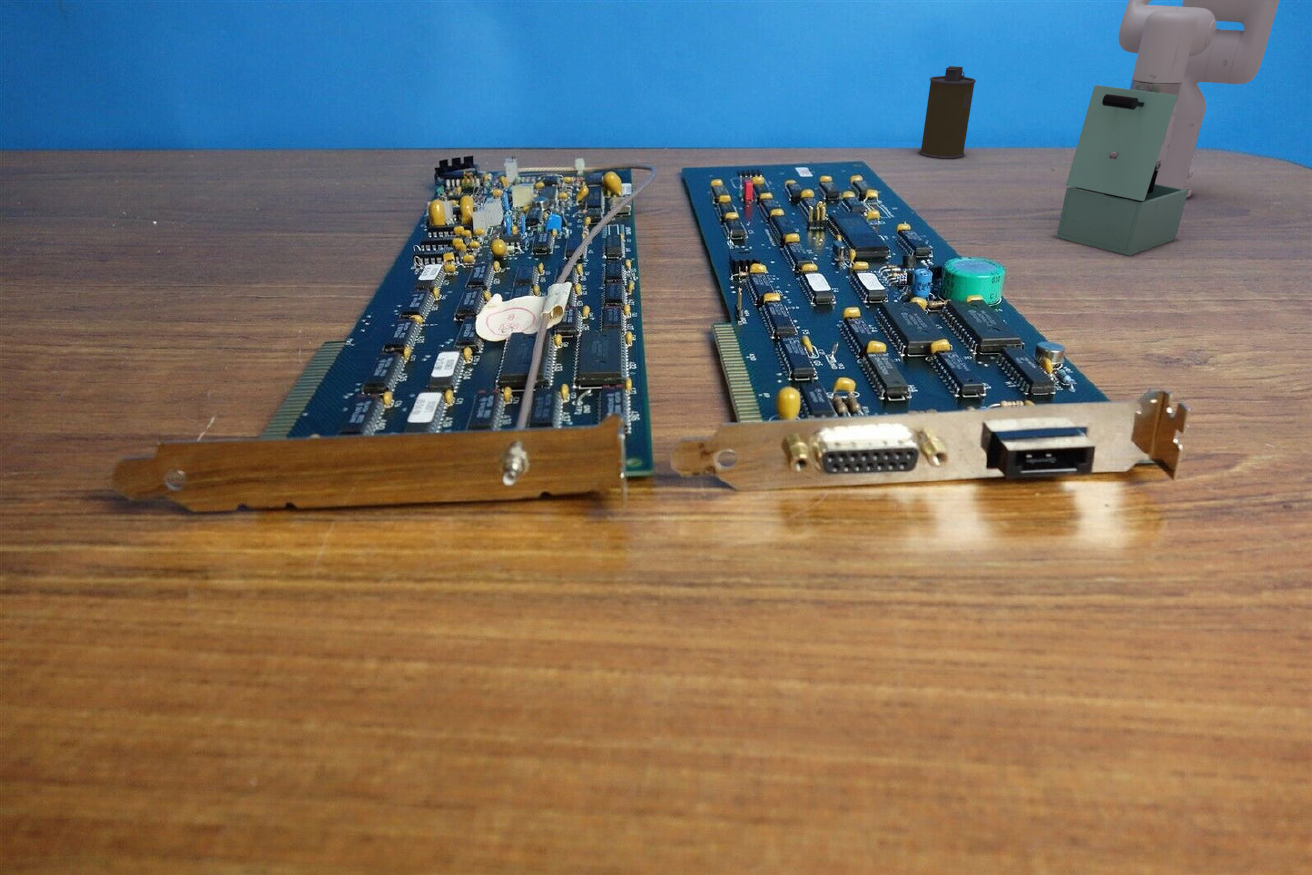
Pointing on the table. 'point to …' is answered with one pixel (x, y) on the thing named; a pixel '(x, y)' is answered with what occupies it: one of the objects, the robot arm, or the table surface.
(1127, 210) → the cool box
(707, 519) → the table surface
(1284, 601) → the table surface
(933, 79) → the canister
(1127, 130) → the cool box lid
